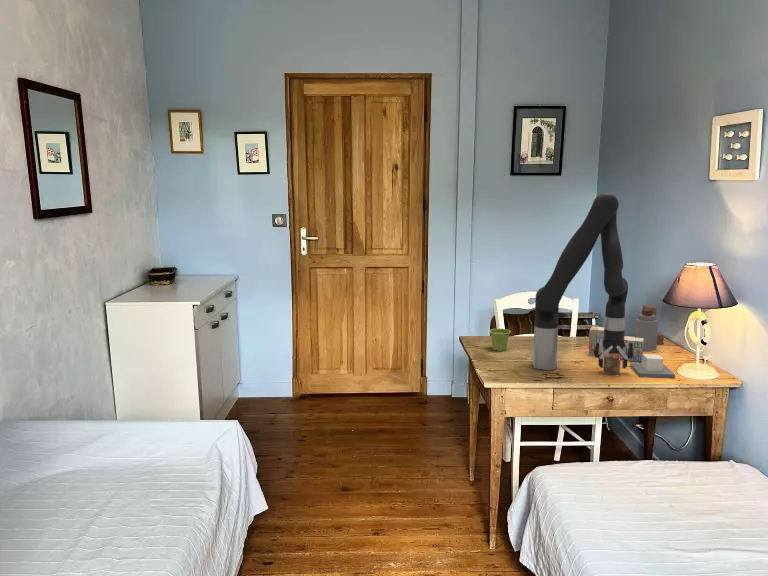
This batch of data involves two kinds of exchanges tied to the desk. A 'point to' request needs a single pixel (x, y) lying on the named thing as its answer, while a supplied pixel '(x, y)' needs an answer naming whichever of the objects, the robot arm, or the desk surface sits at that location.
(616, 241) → the robot arm
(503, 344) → the plant pot
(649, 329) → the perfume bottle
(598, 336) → the stack of blocks
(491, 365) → the desk surface
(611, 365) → the walnut block
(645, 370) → the base plate
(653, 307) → the wooden block
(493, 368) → the desk surface
